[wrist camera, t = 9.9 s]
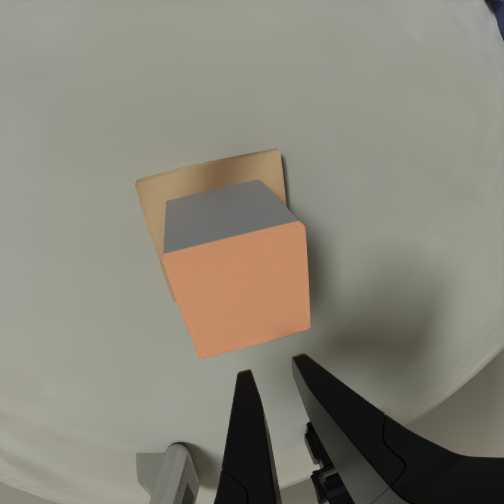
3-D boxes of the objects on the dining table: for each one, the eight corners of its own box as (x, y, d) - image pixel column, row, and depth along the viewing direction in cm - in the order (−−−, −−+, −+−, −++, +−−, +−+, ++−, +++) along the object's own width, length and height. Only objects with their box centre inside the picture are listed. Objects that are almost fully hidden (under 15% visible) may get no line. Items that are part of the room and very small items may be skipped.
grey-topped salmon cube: (259, 179, 17) (305, 227, 11) (270, 258, 19) (310, 328, 14) (166, 201, 16) (162, 262, 10) (189, 279, 19) (200, 359, 13)
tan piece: (275, 148, 17) (319, 173, 12) (288, 265, 21) (323, 320, 16) (136, 180, 16) (119, 219, 11) (173, 294, 20) (177, 359, 15)
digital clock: (197, 480, 37) (209, 537, 28) (140, 479, 34) (146, 538, 25) (211, 439, 30) (229, 518, 21) (133, 437, 28) (139, 521, 19)
